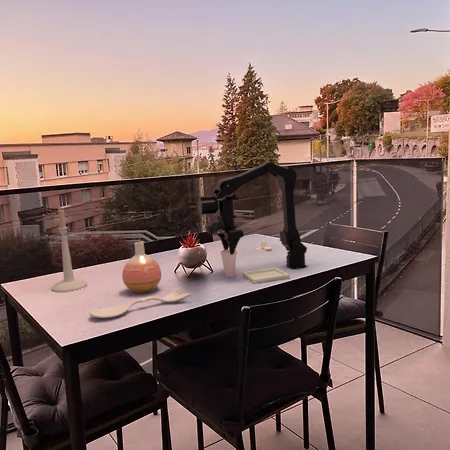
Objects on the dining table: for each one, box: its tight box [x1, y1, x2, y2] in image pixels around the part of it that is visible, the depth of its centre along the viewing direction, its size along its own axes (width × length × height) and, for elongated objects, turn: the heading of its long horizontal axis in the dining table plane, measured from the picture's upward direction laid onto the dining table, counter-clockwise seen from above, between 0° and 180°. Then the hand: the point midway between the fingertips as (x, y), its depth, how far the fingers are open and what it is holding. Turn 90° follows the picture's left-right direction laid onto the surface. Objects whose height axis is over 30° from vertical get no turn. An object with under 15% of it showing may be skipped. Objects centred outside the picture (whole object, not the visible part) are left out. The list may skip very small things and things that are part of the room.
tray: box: [241, 267, 291, 285], centre depth 174 cm, size 14×12×2 cm
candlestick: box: [51, 209, 88, 293], centre depth 174 cm, size 13×13×30 cm
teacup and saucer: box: [255, 240, 274, 252], centre depth 222 cm, size 9×8×4 cm
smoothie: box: [220, 249, 238, 278], centre depth 178 cm, size 6×6×14 cm
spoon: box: [89, 286, 193, 319], centre depth 146 cm, size 9×32×4 cm, turn 120°
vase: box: [121, 241, 162, 294], centre depth 164 cm, size 14×14×18 cm
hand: (228, 252), depth 178 cm, fingers closed on smoothie, 6 cm apart
